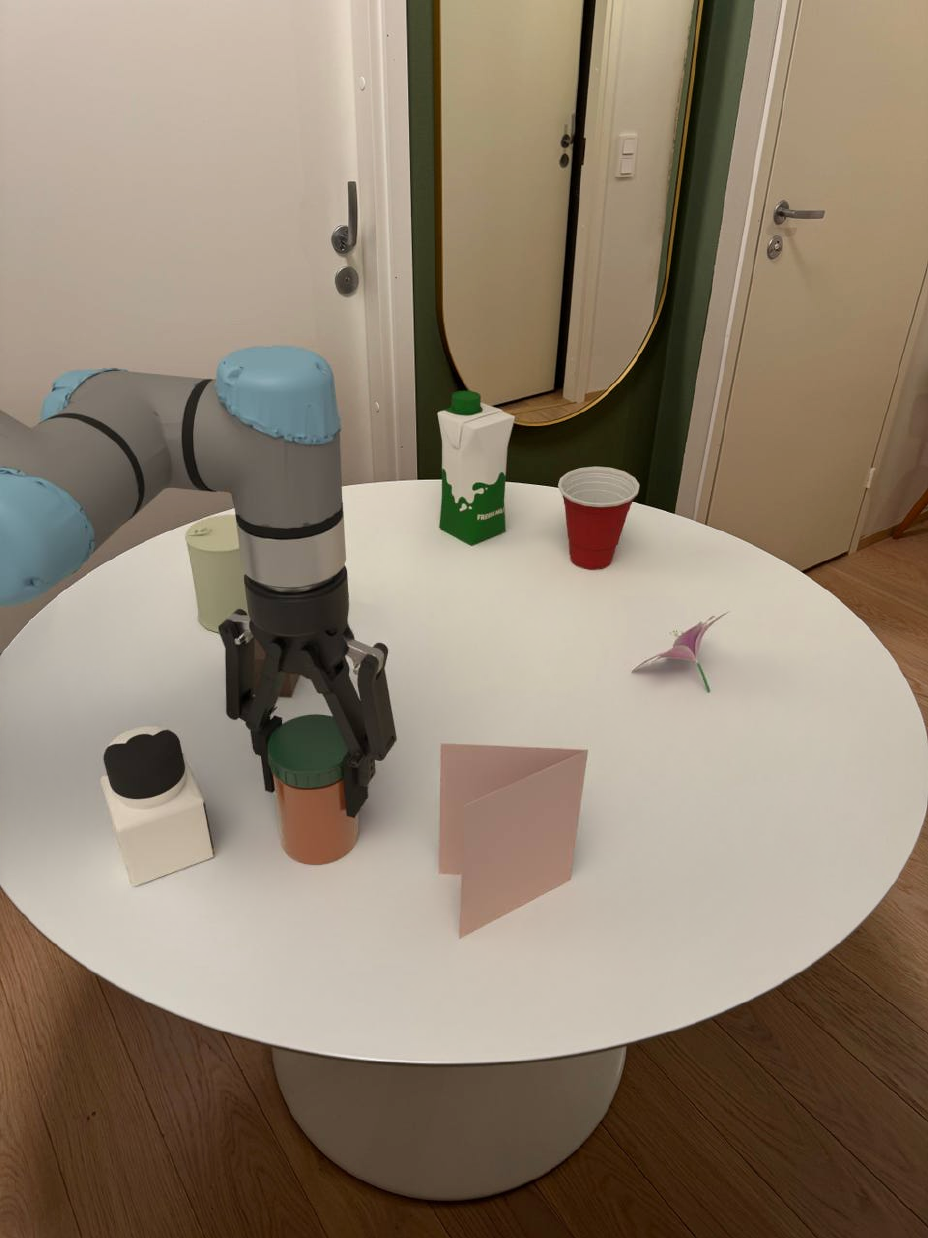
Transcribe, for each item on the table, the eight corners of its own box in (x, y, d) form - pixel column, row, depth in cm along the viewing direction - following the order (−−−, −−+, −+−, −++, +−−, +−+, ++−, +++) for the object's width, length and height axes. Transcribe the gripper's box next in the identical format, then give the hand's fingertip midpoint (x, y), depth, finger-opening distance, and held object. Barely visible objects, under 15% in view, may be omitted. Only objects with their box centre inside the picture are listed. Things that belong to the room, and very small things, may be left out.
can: (200, 596, 112) (186, 512, 106) (273, 591, 114) (264, 508, 107) (195, 637, 105) (180, 549, 98) (273, 631, 106) (264, 544, 100)
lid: (330, 799, 70) (329, 782, 69) (251, 774, 72) (249, 758, 71) (371, 742, 76) (370, 726, 75) (297, 720, 78) (295, 705, 77)
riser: (241, 694, 96) (236, 657, 93) (255, 664, 101) (250, 628, 98) (291, 698, 96) (287, 661, 93) (303, 667, 100) (299, 631, 98)
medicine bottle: (216, 858, 77) (196, 756, 70) (132, 889, 74) (103, 786, 67) (193, 806, 82) (173, 706, 75) (114, 833, 79) (86, 732, 72)
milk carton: (473, 511, 135) (477, 384, 124) (514, 532, 130) (523, 401, 118) (430, 528, 130) (430, 397, 119) (471, 550, 124) (476, 416, 113)
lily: (721, 657, 106) (697, 585, 104) (773, 680, 95) (747, 601, 92) (634, 698, 105) (607, 627, 103) (676, 727, 93) (647, 648, 91)
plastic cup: (535, 557, 123) (541, 479, 117) (585, 534, 130) (594, 459, 123) (593, 588, 117) (603, 507, 110) (644, 562, 123) (656, 484, 116)
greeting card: (569, 871, 77) (587, 742, 68) (575, 944, 70) (595, 812, 62) (439, 865, 77) (441, 735, 69) (433, 937, 71) (435, 804, 62)
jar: (272, 861, 77) (260, 773, 71) (291, 804, 82) (281, 718, 77) (351, 868, 76) (345, 780, 71) (364, 809, 82) (360, 723, 76)
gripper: (442, 570, 64) (439, 796, 77) (207, 520, 70) (241, 738, 82) (400, 623, 58) (404, 858, 71) (148, 564, 64) (193, 791, 76)
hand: (316, 793), depth 77 cm, fingers closed on lid, 7 cm apart
